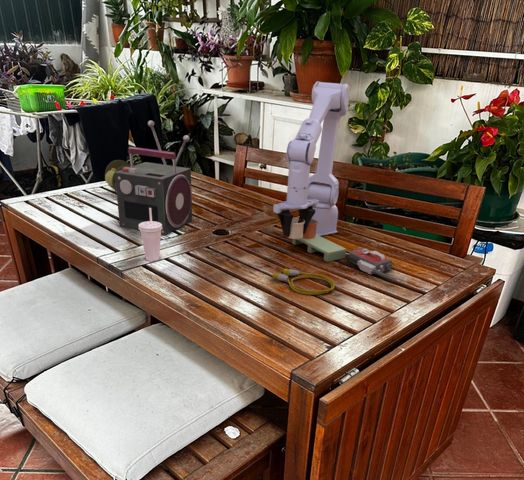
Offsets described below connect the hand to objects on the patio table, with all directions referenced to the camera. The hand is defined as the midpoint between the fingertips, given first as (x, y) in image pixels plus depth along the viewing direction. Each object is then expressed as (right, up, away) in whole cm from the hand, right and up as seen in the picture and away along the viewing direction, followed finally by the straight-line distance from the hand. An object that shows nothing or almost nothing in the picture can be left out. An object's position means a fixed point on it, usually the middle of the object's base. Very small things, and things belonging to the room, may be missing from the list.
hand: (294, 234), depth 149 cm
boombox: (-44, +9, +22) cm, 50 cm away
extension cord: (+2, -16, -14) cm, 22 cm away
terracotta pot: (+5, +2, +9) cm, 10 cm away
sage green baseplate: (+8, -3, +7) cm, 11 cm away
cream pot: (0, 0, 0) cm, 0 cm away
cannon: (-57, +28, +53) cm, 83 cm away
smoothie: (-40, -8, -4) cm, 41 cm away
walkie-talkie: (+22, -11, -4) cm, 25 cm away
